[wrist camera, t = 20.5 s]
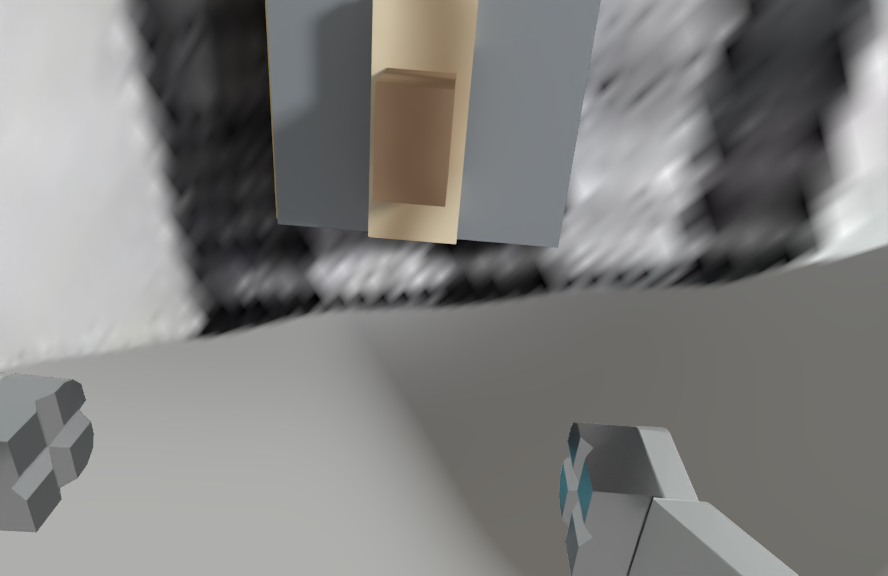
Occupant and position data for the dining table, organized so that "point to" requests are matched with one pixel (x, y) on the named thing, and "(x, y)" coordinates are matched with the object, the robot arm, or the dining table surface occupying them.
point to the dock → (488, 126)
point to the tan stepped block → (451, 51)
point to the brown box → (412, 136)
